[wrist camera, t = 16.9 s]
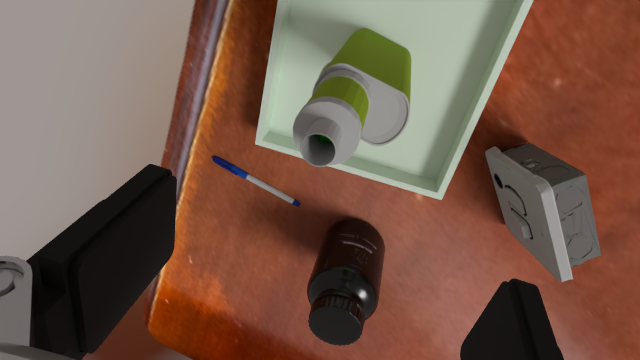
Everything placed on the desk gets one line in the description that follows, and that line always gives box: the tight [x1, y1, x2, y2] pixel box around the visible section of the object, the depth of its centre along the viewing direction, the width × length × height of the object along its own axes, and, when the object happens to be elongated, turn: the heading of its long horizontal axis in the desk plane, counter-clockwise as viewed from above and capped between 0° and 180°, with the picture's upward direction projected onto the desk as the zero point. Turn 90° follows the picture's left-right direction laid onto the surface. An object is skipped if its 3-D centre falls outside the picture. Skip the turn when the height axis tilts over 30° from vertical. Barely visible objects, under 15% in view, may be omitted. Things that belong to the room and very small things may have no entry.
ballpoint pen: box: [213, 156, 300, 206], centre depth 44 cm, size 10×1×1 cm, turn 64°
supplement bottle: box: [307, 220, 385, 346], centre depth 40 cm, size 7×7×12 cm
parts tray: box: [255, 0, 533, 200], centre depth 34 cm, size 20×18×3 cm
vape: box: [293, 28, 411, 167], centre depth 26 cm, size 4×6×20 cm, turn 65°
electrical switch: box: [485, 143, 601, 282], centre depth 34 cm, size 9×5×9 cm, turn 24°
